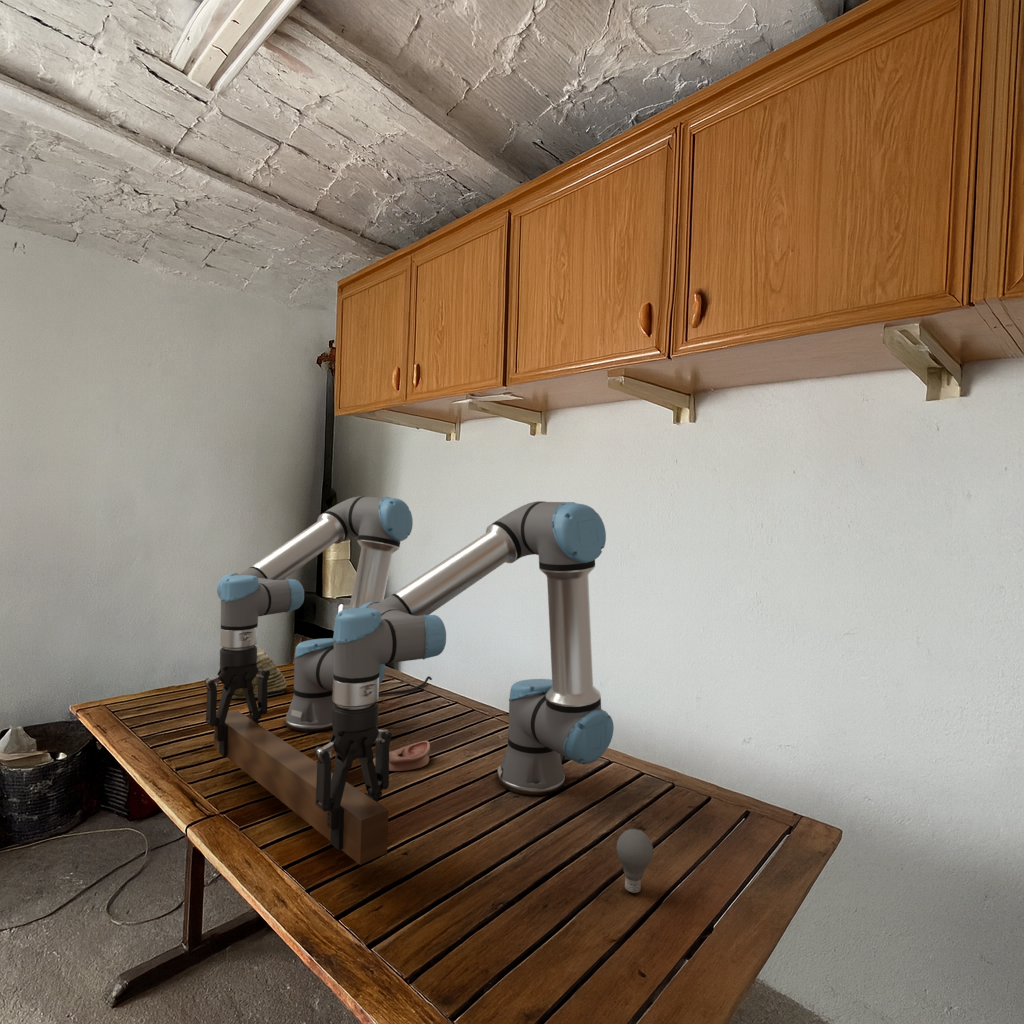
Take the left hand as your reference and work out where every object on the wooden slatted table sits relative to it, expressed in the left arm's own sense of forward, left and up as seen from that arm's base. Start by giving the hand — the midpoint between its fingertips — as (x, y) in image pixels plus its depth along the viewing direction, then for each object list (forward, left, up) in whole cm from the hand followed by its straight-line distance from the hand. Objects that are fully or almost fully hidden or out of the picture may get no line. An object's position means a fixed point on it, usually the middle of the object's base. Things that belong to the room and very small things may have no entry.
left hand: (236, 750), depth 140 cm
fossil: (-33, -51, -6) cm, 62 cm away
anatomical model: (-31, +19, -6) cm, 37 cm away
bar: (+2, +24, -1) cm, 24 cm away
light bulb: (-24, +85, -6) cm, 89 cm away
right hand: (+5, +48, 0) cm, 48 cm away
